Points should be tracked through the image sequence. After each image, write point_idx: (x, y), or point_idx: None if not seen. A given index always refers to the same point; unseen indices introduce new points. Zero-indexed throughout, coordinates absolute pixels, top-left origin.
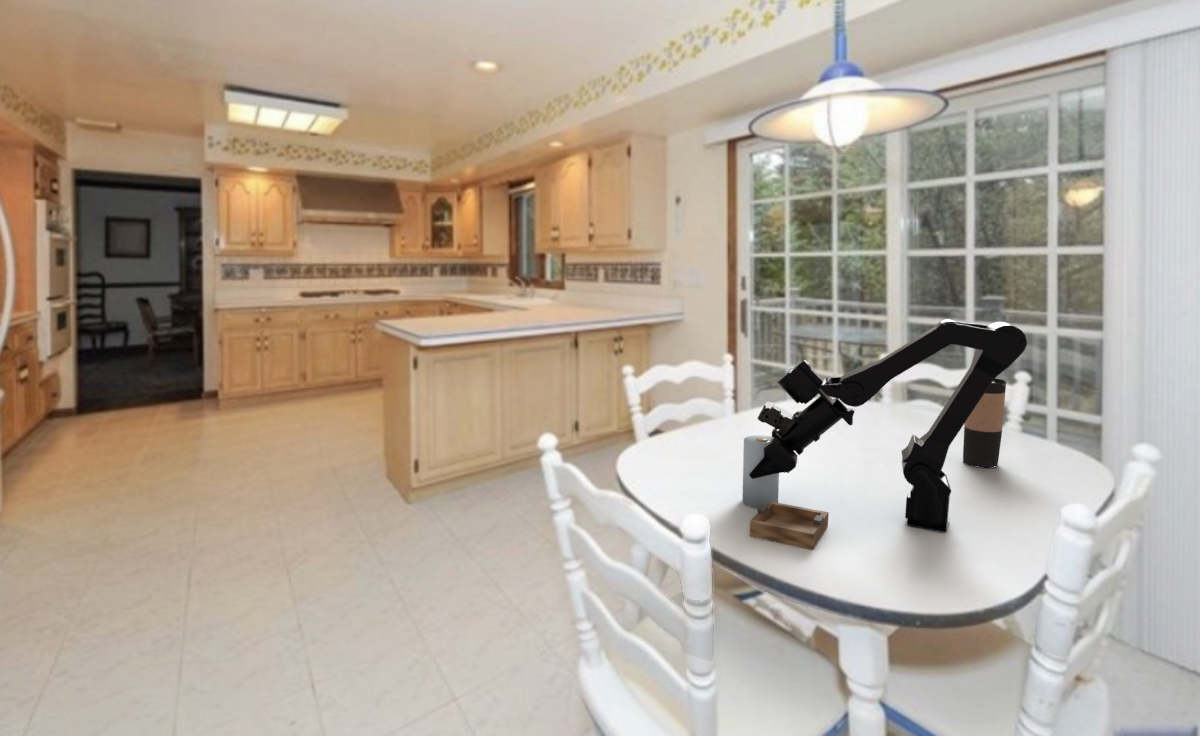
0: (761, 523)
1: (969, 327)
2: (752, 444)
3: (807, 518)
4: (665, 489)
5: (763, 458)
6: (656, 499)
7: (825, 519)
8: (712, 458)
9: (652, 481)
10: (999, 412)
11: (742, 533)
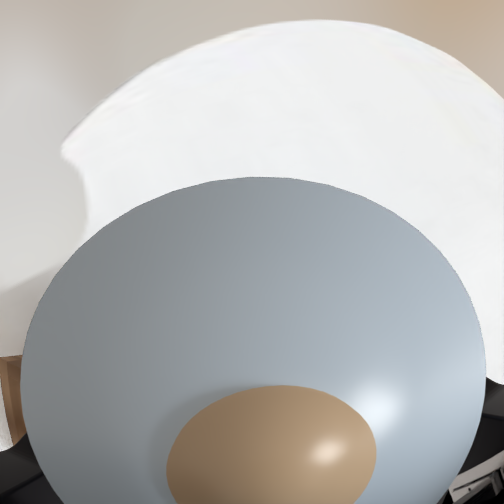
0: (2, 385)
1: None
2: (25, 369)
3: None
4: (227, 80)
5: (17, 442)
6: (154, 89)
7: None
8: (465, 140)
9: (265, 53)
10: None
11: (26, 336)
